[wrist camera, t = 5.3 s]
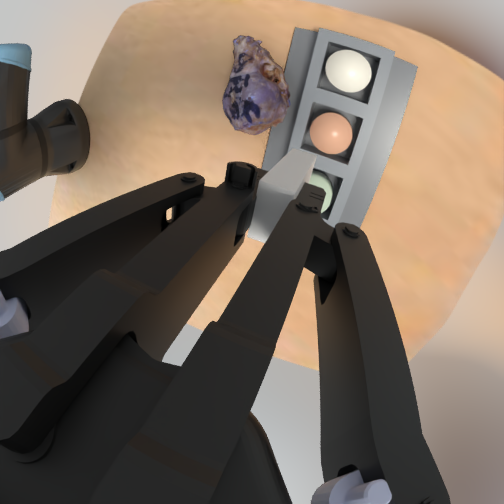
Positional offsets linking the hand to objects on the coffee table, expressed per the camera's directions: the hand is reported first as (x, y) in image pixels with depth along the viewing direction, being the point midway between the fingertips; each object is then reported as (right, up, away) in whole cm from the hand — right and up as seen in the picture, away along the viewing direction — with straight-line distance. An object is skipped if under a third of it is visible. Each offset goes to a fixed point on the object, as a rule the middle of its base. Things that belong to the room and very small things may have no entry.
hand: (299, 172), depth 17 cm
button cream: (+7, +13, +6) cm, 16 cm away
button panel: (+6, +9, +13) cm, 17 cm away
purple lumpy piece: (-2, +15, +12) cm, 19 cm away
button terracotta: (+6, +8, +11) cm, 15 cm away
